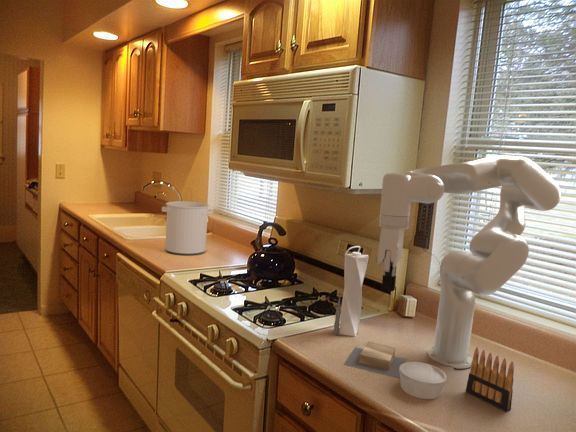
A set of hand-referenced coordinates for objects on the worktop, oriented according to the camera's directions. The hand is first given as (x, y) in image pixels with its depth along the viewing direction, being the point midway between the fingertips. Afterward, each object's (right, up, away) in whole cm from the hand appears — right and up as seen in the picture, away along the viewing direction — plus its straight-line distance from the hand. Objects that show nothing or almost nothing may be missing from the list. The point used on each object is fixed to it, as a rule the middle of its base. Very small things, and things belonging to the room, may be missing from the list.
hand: (388, 289), depth 125 cm
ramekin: (+6, -24, -8) cm, 26 cm away
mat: (-2, -21, +5) cm, 22 cm away
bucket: (-79, +1, +119) cm, 143 cm away
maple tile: (-3, -20, +2) cm, 20 cm away
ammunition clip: (+22, -26, -10) cm, 35 cm away
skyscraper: (-8, -18, +25) cm, 32 cm away
